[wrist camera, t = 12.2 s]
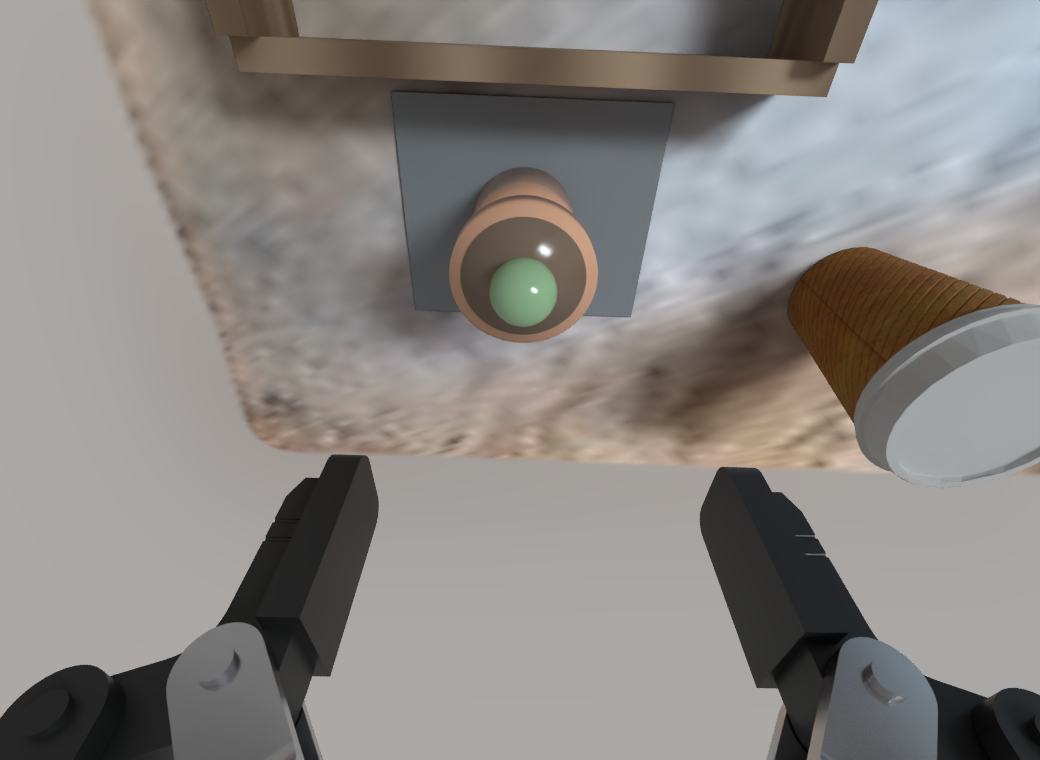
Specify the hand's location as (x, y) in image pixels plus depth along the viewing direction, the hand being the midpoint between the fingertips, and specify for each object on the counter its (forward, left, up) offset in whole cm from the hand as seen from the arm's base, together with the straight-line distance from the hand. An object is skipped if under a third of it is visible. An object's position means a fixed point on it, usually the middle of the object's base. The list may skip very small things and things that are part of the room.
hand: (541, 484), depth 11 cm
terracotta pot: (0, 0, -19) cm, 19 cm away
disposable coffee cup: (-20, +4, -20) cm, 28 cm away
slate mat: (0, 0, -20) cm, 20 cm away
